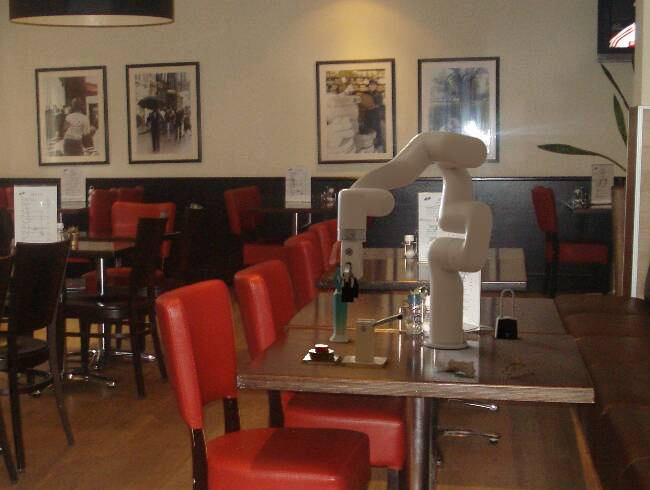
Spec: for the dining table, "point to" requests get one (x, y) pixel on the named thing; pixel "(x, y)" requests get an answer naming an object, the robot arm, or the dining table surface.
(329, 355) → the button box
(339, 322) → the sculpture
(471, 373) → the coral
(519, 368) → the fish
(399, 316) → the lever
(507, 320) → the padlock
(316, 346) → the button
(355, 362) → the bracket
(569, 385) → the dining table surface
